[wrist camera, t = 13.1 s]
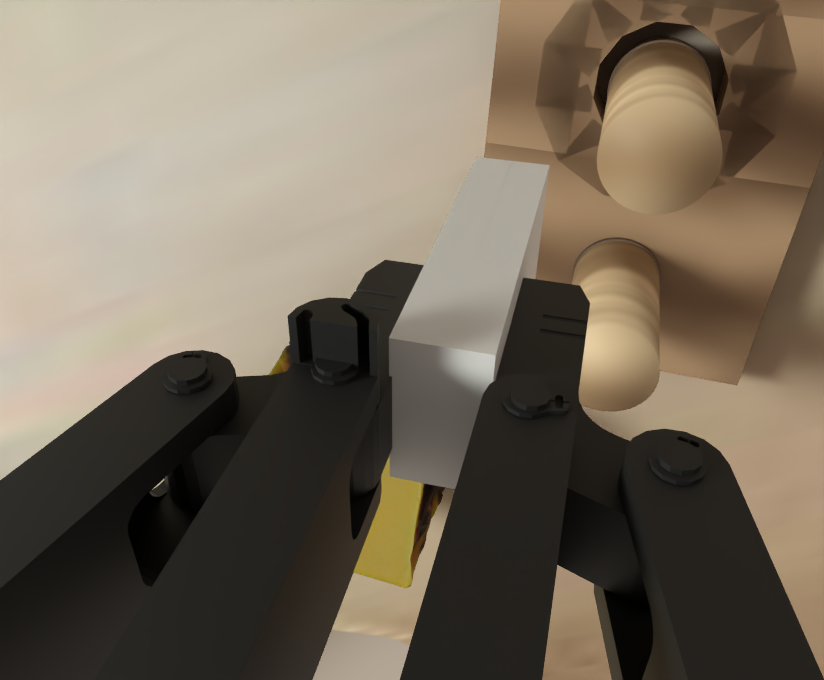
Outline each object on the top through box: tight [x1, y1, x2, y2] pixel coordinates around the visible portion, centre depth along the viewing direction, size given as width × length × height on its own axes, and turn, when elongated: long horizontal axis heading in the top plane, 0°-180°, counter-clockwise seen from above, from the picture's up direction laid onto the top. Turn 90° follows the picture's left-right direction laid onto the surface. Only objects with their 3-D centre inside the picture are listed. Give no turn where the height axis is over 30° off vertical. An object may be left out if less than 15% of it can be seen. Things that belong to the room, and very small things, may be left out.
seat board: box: [484, 0, 824, 411], centre depth 31 cm, size 22×14×10 cm, turn 177°
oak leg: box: [597, 37, 723, 215], centre depth 30 cm, size 4×4×10 cm
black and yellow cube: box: [269, 342, 445, 588], centre depth 44 cm, size 10×10×10 cm
